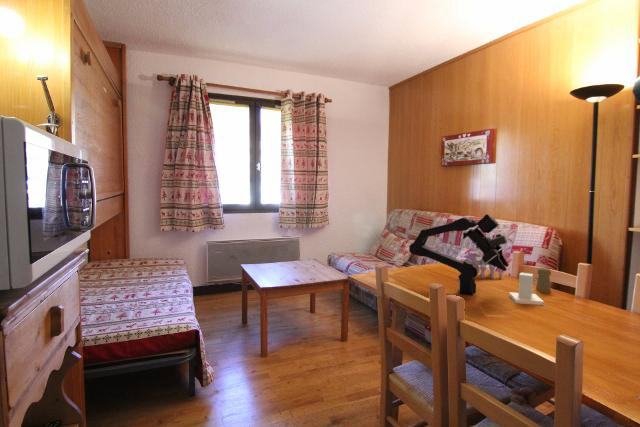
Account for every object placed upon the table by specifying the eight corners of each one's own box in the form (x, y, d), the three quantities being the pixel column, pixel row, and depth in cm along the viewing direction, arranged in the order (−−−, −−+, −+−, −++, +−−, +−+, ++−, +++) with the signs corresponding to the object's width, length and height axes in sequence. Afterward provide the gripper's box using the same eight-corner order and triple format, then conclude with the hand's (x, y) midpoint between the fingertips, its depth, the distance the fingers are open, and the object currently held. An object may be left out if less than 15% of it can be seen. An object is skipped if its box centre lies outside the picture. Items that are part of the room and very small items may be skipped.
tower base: (514, 307, 142) (514, 303, 142) (506, 298, 153) (506, 294, 153) (547, 309, 139) (547, 306, 139) (536, 300, 151) (536, 296, 150)
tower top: (516, 303, 142) (516, 299, 142) (509, 295, 152) (509, 292, 152) (543, 305, 140) (543, 301, 140) (534, 297, 150) (535, 293, 149)
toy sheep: (468, 279, 180) (468, 253, 180) (458, 275, 191) (458, 250, 190) (504, 278, 182) (504, 252, 181) (492, 274, 192) (492, 249, 192)
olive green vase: (553, 294, 155) (554, 270, 154) (538, 293, 156) (539, 269, 156) (547, 290, 161) (548, 267, 160) (533, 289, 162) (534, 266, 161)
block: (518, 296, 145) (519, 274, 145) (519, 294, 149) (520, 272, 148) (530, 299, 143) (531, 276, 142) (532, 296, 146) (533, 274, 146)
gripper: (492, 230, 143) (521, 260, 138) (497, 226, 158) (524, 253, 153) (470, 247, 148) (498, 277, 143) (478, 241, 163) (503, 268, 158)
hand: (506, 268), depth 149 cm, fingers open, 9 cm apart
